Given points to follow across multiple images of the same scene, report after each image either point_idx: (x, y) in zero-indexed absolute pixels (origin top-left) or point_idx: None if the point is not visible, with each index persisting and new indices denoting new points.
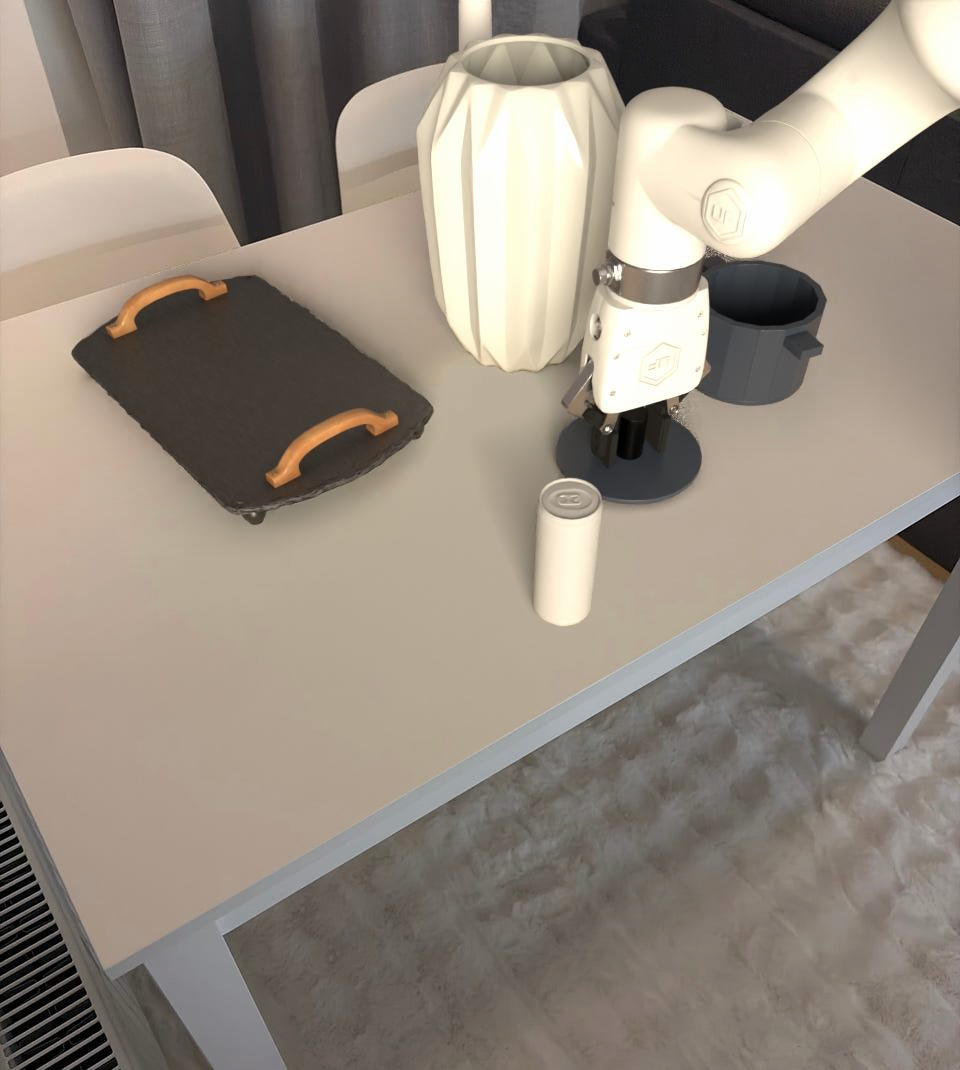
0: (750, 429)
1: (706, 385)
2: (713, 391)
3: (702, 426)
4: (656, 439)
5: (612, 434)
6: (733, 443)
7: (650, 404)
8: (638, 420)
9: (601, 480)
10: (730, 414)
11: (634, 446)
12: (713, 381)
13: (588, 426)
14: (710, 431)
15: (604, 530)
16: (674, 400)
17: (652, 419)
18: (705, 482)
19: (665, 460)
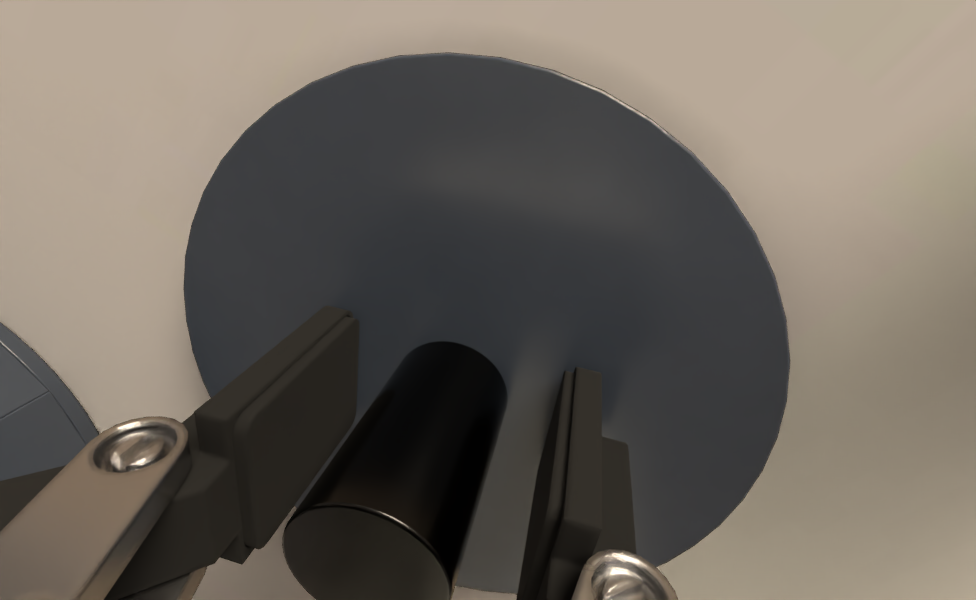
0: (5, 221)
1: (56, 440)
2: (49, 411)
3: (147, 328)
4: (330, 362)
5: (596, 532)
6: (80, 201)
7: (246, 535)
8: (383, 516)
9: (677, 338)
10: (46, 314)
11: (449, 389)
12: (16, 440)
13: (490, 551)
14: (132, 295)
15: (903, 81)
16: (66, 509)
17: (287, 457)
18: (265, 80)
19: (352, 262)
